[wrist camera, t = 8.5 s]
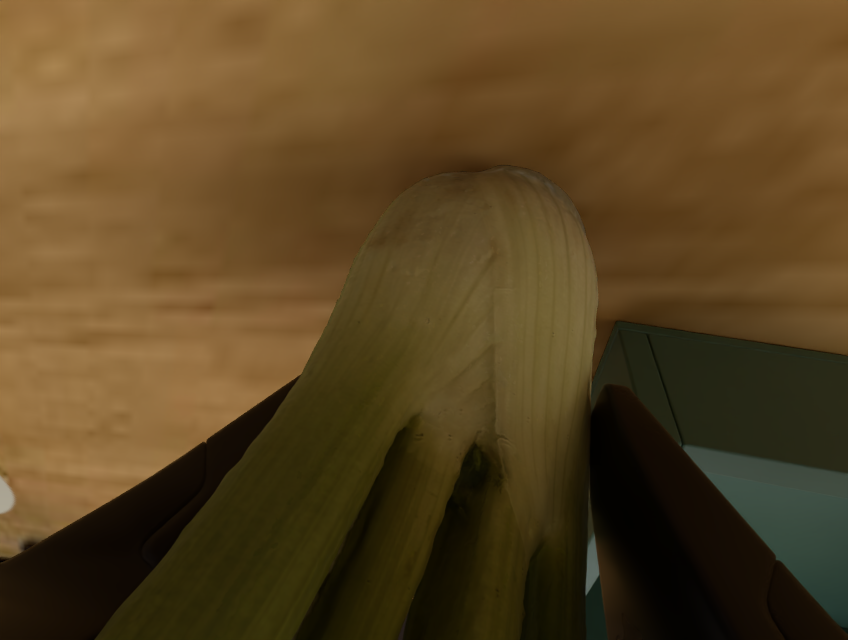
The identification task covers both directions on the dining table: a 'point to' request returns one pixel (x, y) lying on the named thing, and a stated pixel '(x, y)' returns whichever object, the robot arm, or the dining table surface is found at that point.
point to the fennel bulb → (414, 444)
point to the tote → (748, 443)
